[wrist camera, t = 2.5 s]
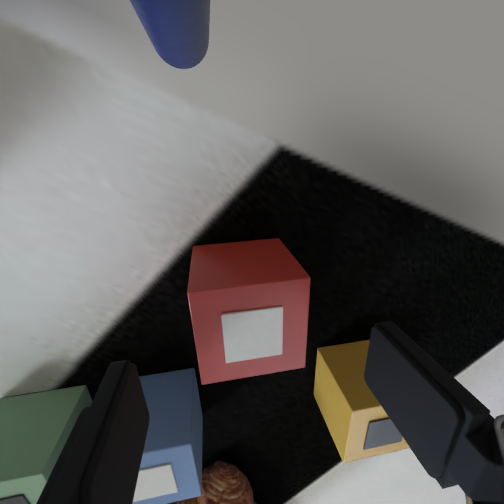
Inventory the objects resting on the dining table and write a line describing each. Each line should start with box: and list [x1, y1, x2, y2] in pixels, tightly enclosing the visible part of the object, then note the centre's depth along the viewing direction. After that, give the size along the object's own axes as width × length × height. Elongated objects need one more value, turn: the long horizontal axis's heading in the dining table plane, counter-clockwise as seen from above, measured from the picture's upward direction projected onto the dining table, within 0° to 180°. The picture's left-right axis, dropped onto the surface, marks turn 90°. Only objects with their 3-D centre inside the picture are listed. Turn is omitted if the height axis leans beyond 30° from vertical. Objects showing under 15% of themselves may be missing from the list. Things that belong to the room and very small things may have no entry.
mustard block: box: [314, 340, 410, 463], centre depth 18 cm, size 5×5×5 cm
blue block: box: [132, 368, 202, 504], centre depth 16 cm, size 5×5×5 cm
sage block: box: [0, 385, 93, 504], centre depth 15 cm, size 5×5×5 cm
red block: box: [187, 238, 311, 385], centre depth 13 cm, size 5×5×5 cm
